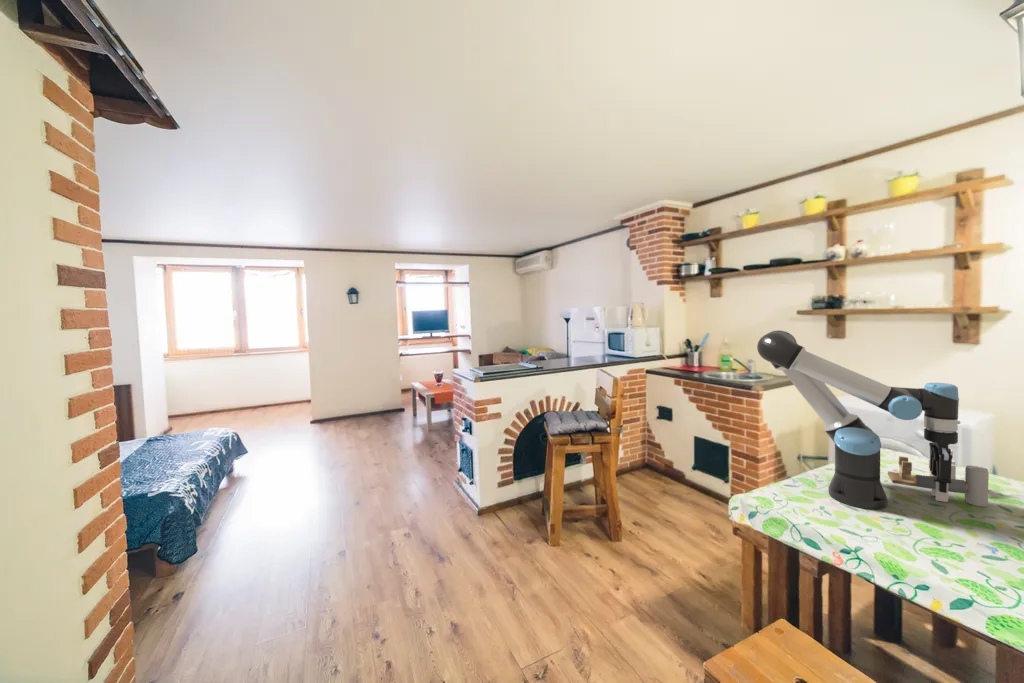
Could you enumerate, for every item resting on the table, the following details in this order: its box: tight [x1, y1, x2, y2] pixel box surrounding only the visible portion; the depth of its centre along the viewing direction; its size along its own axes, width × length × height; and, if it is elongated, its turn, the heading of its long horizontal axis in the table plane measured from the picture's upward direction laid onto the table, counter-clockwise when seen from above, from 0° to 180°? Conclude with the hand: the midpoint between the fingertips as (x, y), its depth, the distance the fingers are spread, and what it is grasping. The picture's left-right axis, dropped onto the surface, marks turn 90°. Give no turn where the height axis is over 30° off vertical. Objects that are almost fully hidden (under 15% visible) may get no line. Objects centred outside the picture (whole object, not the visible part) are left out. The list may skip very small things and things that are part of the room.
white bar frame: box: [950, 449, 957, 479], centre depth 137 cm, size 2×9×12 cm, turn 143°
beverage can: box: [964, 464, 990, 508], centre depth 125 cm, size 5×5×12 cm
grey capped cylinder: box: [914, 474, 967, 494], centre depth 129 cm, size 12×4×4 cm, turn 53°
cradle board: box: [887, 455, 955, 493], centre depth 141 cm, size 16×9×8 cm, turn 54°
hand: (939, 497), depth 129 cm, fingers closed on grey capped cylinder, 4 cm apart
